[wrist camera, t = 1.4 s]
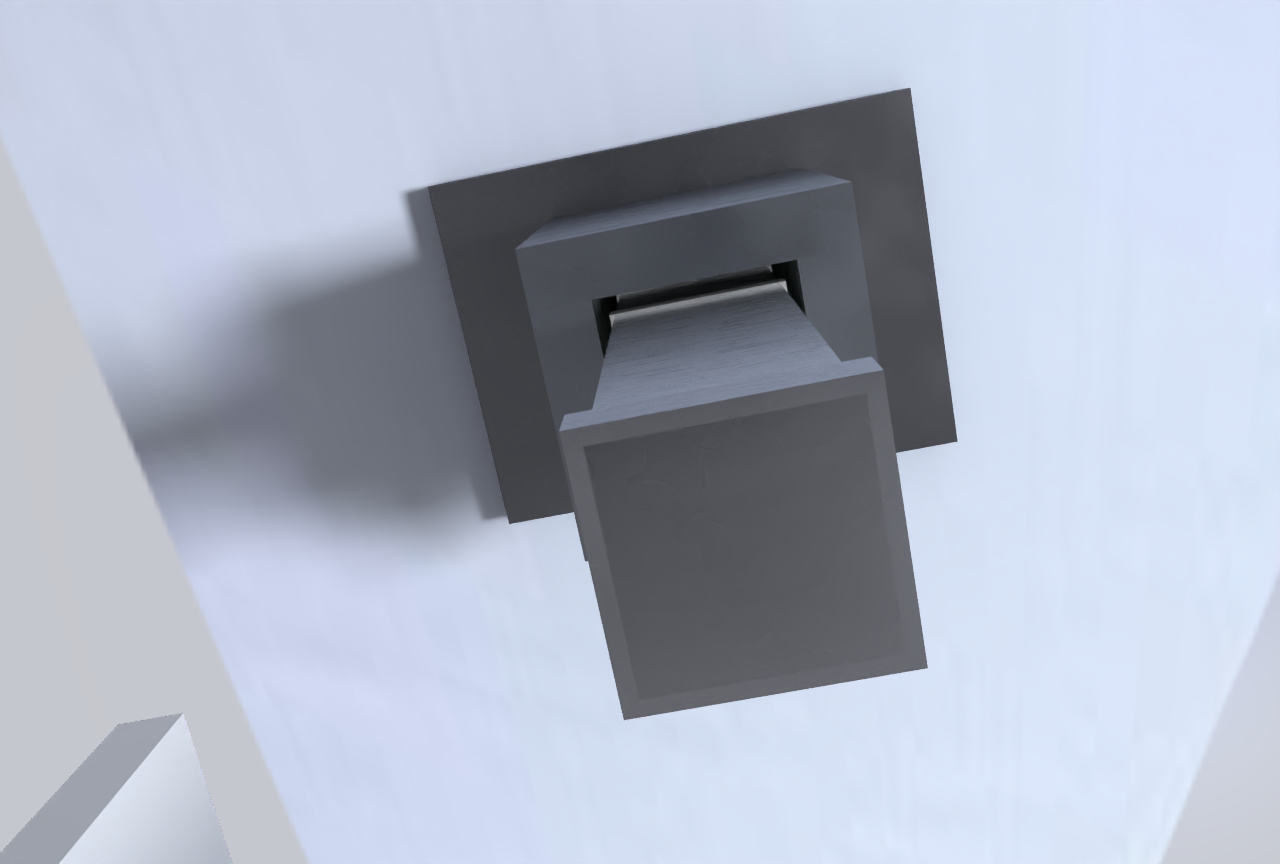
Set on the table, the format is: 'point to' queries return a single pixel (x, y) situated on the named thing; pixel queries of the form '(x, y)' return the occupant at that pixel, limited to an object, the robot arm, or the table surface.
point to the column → (739, 501)
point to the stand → (693, 266)
